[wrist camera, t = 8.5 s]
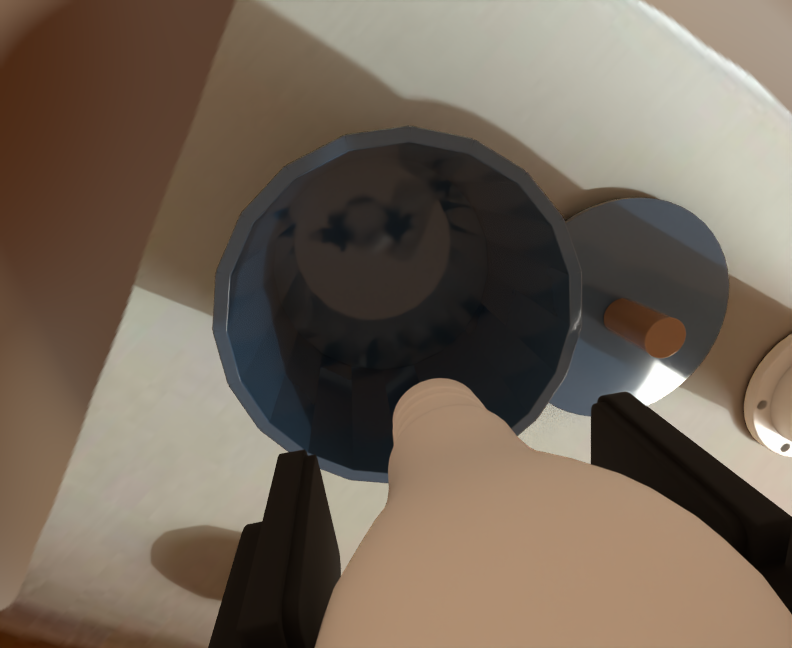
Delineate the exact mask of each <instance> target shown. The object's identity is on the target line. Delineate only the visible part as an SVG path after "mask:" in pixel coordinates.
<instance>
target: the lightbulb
mask: <svg viewBox="0 0 792 648" xmlns="http://www.w3.org/2000/svg"><path fill="white" fill-rule="evenodd" d="M393 442H394V446H393V449H392V452H391V455H390V458H389V466H388V479H389V493H388V500H387V503H386V506H385V508H384V509H383V511H382V512H381V513H380V514H379V516H378V517H377V518H376V520H375V521H374V523H373V524H372V526H371V527H370V529H369V530H368V532H367V534H366V535H365V537H364V538H363V540H362V542H361V543H360V545H359V547H358V548H357V550H356V552H355V553H354V555H353V557H352V558H351V560H350V562H349V563H348V565H347V567H346V569H345V570H344V572H343V574H342V575H341V577H340V579H339V580H338V582H337V584H336V585H335V587H334V589H333V592H332V595H331V597H330V600H329V603H328V606H327V609H326V612H325V615H324V617H323V620H322V624H321V627H320V631H319V634H318V638H317V641H316V644H315V648H792V614H791V613H790V611H789V610H788V609H787V607H786V606H785V605H784V603H783V602H782V601H781V599H780V598H779V597H778V595H777V594H776V593H775V591H774V590H773V589H772V587H771V586H770V585H769V583H768V582H767V581H766V579H765V578H764V577H763V575H762V574H761V573H759V572H758V571H757V570H756V569H755V568H754V567H753V566H752V565H751V564H750V563H749V562H748V561H747V560H746V559H745V558H744V557H743V556H742V555H740V554H739V553H738V552H737V551H736V550H735V549H734V548H733V547H732V546H731V545H730V544H729V543H728V542H727V541H726V540H725V539H724V538H722V537H721V536H720V535H719V534H717V533H716V532H715V531H714V530H713V529H711V528H710V527H709V526H708V525H706V524H705V523H704V522H703V521H702V520H700V519H699V518H698V517H697V516H695V515H694V514H692V513H690V512H689V511H687V510H686V509H684V508H682V507H681V506H679V505H678V504H676V503H674V502H673V501H671V500H670V499H668V498H666V497H665V496H663V495H661V494H660V493H658V492H657V491H655V490H653V489H652V488H650V487H648V486H646V485H643V484H641V483H639V482H637V481H635V480H633V479H631V478H628V477H626V476H624V475H622V474H620V473H617V472H614V471H610V470H607V469H604V468H601V467H598V466H594V465H591V464H588V463H585V462H582V461H578V460H575V459H572V458H568V457H563V456H559V455H554V454H550V453H546V452H541V451H536V450H534V449H532V448H530V447H529V446H528V445H526V444H525V443H524V442H523V441H522V440H520V439H519V438H518V437H517V435H516V434H515V433H514V432H513V431H512V429H511V428H510V427H509V426H508V424H507V423H506V422H505V421H504V420H502V419H501V418H500V417H498V416H497V415H496V414H494V413H492V412H490V411H488V410H487V409H486V408H485V406H484V405H483V404H482V403H481V401H480V400H479V399H478V398H477V397H476V396H475V395H474V393H473V392H472V391H471V390H470V389H469V388H468V387H466V386H465V385H464V384H462V383H460V382H458V381H455V380H451V379H445V378H436V379H429V380H426V381H423V382H420V383H418V384H417V385H415V386H413V387H412V388H410V389H409V390H408V391H406V392H405V394H404V395H403V396H402V397H401V398H400V400H399V401H398V403H397V405H396V407H395V410H394V413H393Z"/></svg>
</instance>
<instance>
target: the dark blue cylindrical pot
mask: <svg viewBox="0 0 792 648" xmlns="http://www.w3.org/2000/svg"><path fill="white" fill-rule="evenodd" d="M581 328H582V272H581V267H580V264H579V261H578V258H577V255H576V252H575V249H574V246H573V244H572V241H571V238H570V235H569V232H568V229H567V226H566V223H565V220H564V218H563V216H562V215H561V214H560V212H559V211H558V210H557V209H556V207H555V206H554V205H553V204H552V202H551V201H550V200H549V199H548V197H547V196H546V195H545V194H544V192H543V191H542V190H541V188H540V187H539V186H538V185H537V183H536V182H535V181H534V180H533V178H532V177H531V176H530V175H529V173H528V172H526V171H525V170H524V169H522V168H521V167H519V166H518V165H516V164H514V163H513V162H511V161H509V160H508V159H506V158H505V157H503V156H501V155H500V154H498V153H496V152H495V151H493V150H492V149H490V148H488V147H487V146H485V145H483V144H482V143H480V142H479V141H477V140H475V139H474V140H473V138H469V137H464V136H459V135H454V134H449V133H444V132H440V131H435V130H430V129H425V128H420V127H415V126H403V127H396V128H389V129H382V130H374V131H367V132H360V133H353V134H346V135H345V136H341V137H339V138H337V139H335V140H333V141H331V142H329V143H328V144H326V145H324V146H322V147H320V148H318V149H316V150H314V151H312V152H310V153H308V154H306V155H305V156H303V157H301V158H299V159H297V160H295V161H293V162H291V163H289V164H287V165H286V167H283V168H282V169H281V170H280V171H279V173H278V174H277V175H276V176H275V177H274V178H273V179H272V180H271V181H270V182H269V183H268V184H267V185H266V187H265V188H264V189H263V190H262V191H261V192H260V193H259V194H258V195H257V196H256V197H255V198H254V200H253V201H252V202H251V203H250V204H249V205H248V206H247V207H246V208H245V209H244V210H243V211H242V212H241V215H240V216H239V218H238V220H237V223H236V225H235V228H234V230H233V232H232V235H231V237H230V239H229V242H228V244H227V246H226V249H225V251H224V253H223V256H222V258H221V260H220V263H219V265H218V267H217V271H216V275H215V292H214V309H213V326H212V330H213V334H214V338H215V341H216V345H217V348H218V352H219V355H220V359H221V362H222V366H223V369H224V373H225V376H226V380H227V383H228V384H229V387H230V388H231V390H232V391H233V393H234V394H235V396H236V397H237V398H238V400H239V401H240V403H241V404H242V406H243V407H244V409H245V410H246V411H247V413H248V414H249V416H250V417H251V419H252V420H253V421H254V423H255V424H256V426H257V427H258V428H259V429H260V431H262V432H263V433H264V434H266V435H267V436H268V437H270V438H271V439H272V440H273V441H275V442H276V443H277V444H279V445H280V446H281V447H283V448H284V449H285V450H287V451H288V452H293V451H299V450H304V449H305V450H306V451H307V454H308V456H309V455H316V456H317V459H318V463H319V467H320V469H322V470H324V471H327V472H330V473H332V474H335V475H338V476H340V477H343V478H346V479H348V480H355V481H367V482H379V483H389V479H388V466H389V458H390V455H391V452H392V449H393V446H394V442H393V413H394V410H395V407H396V405H397V403H398V401H399V400H400V398H401V397H402V396H403V395H404V394H405V392H406V391H408V390H409V389H410V388H412V387H413V386H415V385H417V384H418V383H420V382H423V381H426V380H429V379H436V378H445V379H451V380H455V381H458V382H460V383H462V384H464V385H465V386H466V387H468V388H469V389H470V390H471V391H472V392H473V393H474V395H475V396H476V397H477V398H478V399H479V400H480V401H481V403H482V404H483V405H484V406H485V408H486V409H487V410H488V411H490V412H492V413H494V414H496V415H497V416H498V417H500V418H501V419H502V420H504V421H505V422H506V423H507V424H508V426H509V427H510V428H511V429H512V431H513V432H514V433H515V434H516V435H517V436H518V435H519V434H521V433H522V432H523V431H524V430H525V429H526V428H528V427H529V426H530V425H531V424H532V423H533V422H535V421H536V419H537V418H538V417H539V416H540V414H541V413H542V411H543V410H544V408H545V407H546V405H547V404H548V402H549V401H550V399H551V398H552V396H553V395H554V393H555V392H556V390H557V389H558V387H559V386H560V384H561V383H562V382H563V380H564V379H565V377H566V375H567V373H568V369H569V366H570V363H571V360H572V357H573V353H574V350H575V347H576V344H577V341H578V337H579V334H580V331H581Z"/></svg>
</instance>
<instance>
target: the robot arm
mask: <svg viewBox="0 0 792 648" xmlns="http://www.w3.org/2000/svg"><path fill="white" fill-rule="evenodd" d="M744 418H745V421H746V425H747V428H748V430H749V431H750V433H751V435H752V436H753V437H754V438H755V439H756V440H757V441H758V442H759V443H760V444H761V445H763V446H765V447H766V448H768V449H769V450H770V451H772V452H774V453H776V454H779V455H782V456H787V457H792V334H790V335H789V336H787V337H786V338H785V339H783V340H782V341H781V342H779V343H778V344H777V345H776V346H775V347H774V348H773V349H772V350H771V351H770V352H769V353H768V354H767V355H766V356H765V358H764V359H763V360H762V361H761V363H760V364H759V365H758V367H757V369H756V370H755V372H754V374H753V376H752V377H751V380H750V382H749V385H748V388H747V390H746V395H745V401H744ZM591 465H594V466H598V467H601V468H604V469H607V470H610V471H614V472H617V473H620V474H622V475H624V476H626V477H628V478H631V479H633V480H635V481H637V482H639V483H641V484H643V485H646V486H648V487H650V488H652V489H653V490H655V491H657V492H658V493H660V494H661V495H663V496H665V497H666V498H668V499H670V500H671V501H673V502H674V503H676V504H678V505H679V506H681V507H682V508H684V509H686V510H687V511H689V512H690V513H692V514H694V515H695V516H697V517H698V518H699V519H700V520H702V521H703V522H704V523H705V524H706V525H708V526H709V527H710V528H711V529H713V530H714V531H715V532H716V533H717V534H719V535H720V536H721V537H722V538H724V539H725V540H726V541H727V542H728V543H729V544H730V545H731V546H732V547H733V548H734V549H735V550H736V551H737V552H738V553H739V554H740V555H742V556H743V557H744V558H745V559H746V560H747V561H748V562H749V563H750V564H751V565H752V566H753V567H754V568H755V569H756V570H757V571H758V572H759V573H761V574H762V575H763V577H764V578H765V579H766V581H767V582H768V583H769V585H770V586H771V587H772V589H773V590H774V591H775V593H776V594H777V595H778V597H779V598H780V599H781V601H782V602H783V603H784V605H785V606H786V607H787V609H788V610H789V611H790V613H791V614H792V517H791V516H790V515H789V514H787V513H786V512H785V511H783V510H782V509H781V508H780V507H778V506H777V505H776V504H774V503H773V502H772V501H770V500H769V499H768V498H766V497H765V496H764V495H763V494H761V493H760V492H759V491H757V490H756V489H755V488H753V487H752V486H751V485H749V484H748V483H747V482H746V481H744V480H743V479H742V478H740V477H739V476H738V475H736V474H735V473H734V472H732V471H731V470H730V469H728V468H727V467H726V466H725V465H723V464H722V463H721V462H719V461H718V460H717V459H715V458H714V457H713V456H711V455H710V454H709V453H708V452H706V451H705V450H704V449H702V448H701V447H700V446H698V445H697V444H696V443H694V442H693V441H692V440H691V439H689V438H688V437H687V436H685V435H684V434H683V433H681V432H680V431H679V430H677V429H676V428H675V427H674V426H672V425H671V424H670V423H668V422H667V421H666V420H664V419H663V418H662V417H660V416H659V415H658V414H657V413H655V412H654V411H653V410H651V409H650V408H649V407H647V406H646V405H645V404H643V403H642V402H641V401H639V400H638V399H637V398H636V397H634V396H633V395H632V394H630V393H628V392H619V393H613V394H608V395H602V396H600V397H599V398H598V401H597V403H595V404H593V405H592V407H591ZM340 577H341V564H340V554H339V549H338V544H337V540H336V536H335V531H334V527H333V523H332V519H331V514H330V510H329V506H328V501H327V497H326V493H325V488H324V484H323V480H322V476H321V471H320V467H319V463H318V459H317V456H316V455H309V456H308V454H307V451H306V450H305V449H304V450H299V451H293V452H288V453H282V454H279V456H278V460H277V464H276V468H275V472H274V476H273V480H272V484H271V488H270V492H269V497H268V501H267V505H266V509H265V513H264V517H263V521H262V522H258V523H253V524H247V525H246V526H245V527H244V529H243V532H242V534H241V537H240V541H239V544H238V548H237V551H236V555H235V558H234V561H233V565H232V568H231V572H230V575H229V578H228V582H227V585H226V589H225V592H224V596H223V599H222V602H221V606H220V609H219V613H218V616H217V619H216V623H215V626H214V630H213V633H212V636H211V640H210V643H209V647H208V648H315V644H316V641H317V638H318V634H319V631H320V627H321V624H322V620H323V617H324V615H325V612H326V609H327V606H328V603H329V600H330V597H331V595H332V592H333V589H334V587H335V585H336V584H337V582H338V580H339V579H340Z"/></svg>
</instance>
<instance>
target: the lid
mask: <svg viewBox="0 0 792 648" xmlns="http://www.w3.org/2000/svg"><path fill="white" fill-rule="evenodd" d="M565 223H566V226H567V229H568V232H569V235H570V238H571V241H572V244H573V246H574V249H575V252H576V255H577V258H578V261H579V264H580V267H581V272H582V328H581V331H580V334H579V337H578V341H577V344H576V347H575V350H574V353H573V357H572V360H571V363H570V366H569V369H568V373H567V375H566V377H565V379H564V380H563V382H562V383H561V384H560V386H559V387H558V389H557V390H556V392H555V393H554V395H553V396H552V398H551V399H550V401H549V403H550V404H552V405H553V406H555V407H557V408H560V409H562V410H564V411H567V412H570V413H574V414H578V415H584V416H591V407H592V405H593V404H595V403H597V401H598V398H599V397H600V396H602V395H608V394H613V393H619V392H628V393H630V394H632V395H633V396H634V397H636V398H637V399H638V400H639V401H641V402H642V403H643V404H645V405H646V406H648V405H650V404H652V403H654V402H656V401H658V400H660V399H661V398H663V397H664V396H666V395H668V394H669V393H671V392H672V391H673V390H674V389H676V388H677V387H678V386H680V385H681V384H682V383H683V382H684V381H685V380H686V379H687V378H688V377H689V376H690V375H691V374H692V373H693V372H694V371H695V370H696V369H697V368H698V366H699V365H700V364H701V363H702V361H703V360H704V358H705V357H706V356H707V354H708V353H709V351H710V349H711V348H712V346H713V344H714V342H715V340H716V339H717V336H718V334H719V331H720V329H721V327H722V324H723V320H724V317H725V314H726V309H727V303H728V296H729V278H728V269H727V265H726V261H725V257H724V254H723V252H722V249H721V247H720V244H719V243H718V241H717V239H716V238H715V236H714V234H713V233H712V232H711V230H710V229H709V228H708V227H707V226H706V224H705V223H704V222H703V221H701V220H700V219H699V218H698V217H697V216H695V215H694V214H693V213H691V212H690V211H688V210H686V209H685V208H683V207H681V206H679V205H676V204H673V203H671V202H668V201H664V200H659V199H654V198H640V197H631V198H619V199H615V200H610V201H606V202H602V203H600V204H597V205H594V206H591V207H589V208H587V209H585V210H583V211H581V212H579V213H577V214H575V215H573V216H572V217H571V218H569V219H568V220H566V221H565Z"/></svg>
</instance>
